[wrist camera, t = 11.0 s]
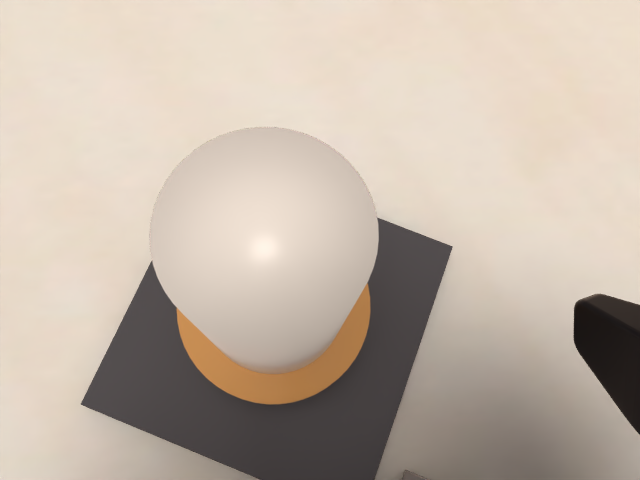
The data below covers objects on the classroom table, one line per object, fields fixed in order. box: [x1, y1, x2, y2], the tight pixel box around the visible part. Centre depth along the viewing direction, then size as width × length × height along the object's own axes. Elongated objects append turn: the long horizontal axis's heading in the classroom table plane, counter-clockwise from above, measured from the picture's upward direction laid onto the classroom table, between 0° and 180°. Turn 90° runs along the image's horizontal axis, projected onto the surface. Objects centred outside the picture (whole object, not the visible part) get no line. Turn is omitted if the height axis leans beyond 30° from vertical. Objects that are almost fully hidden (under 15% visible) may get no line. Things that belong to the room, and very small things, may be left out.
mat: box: [81, 218, 452, 480], centre depth 21 cm, size 10×10×1 cm
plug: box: [149, 127, 379, 405], centre depth 16 cm, size 6×6×11 cm
